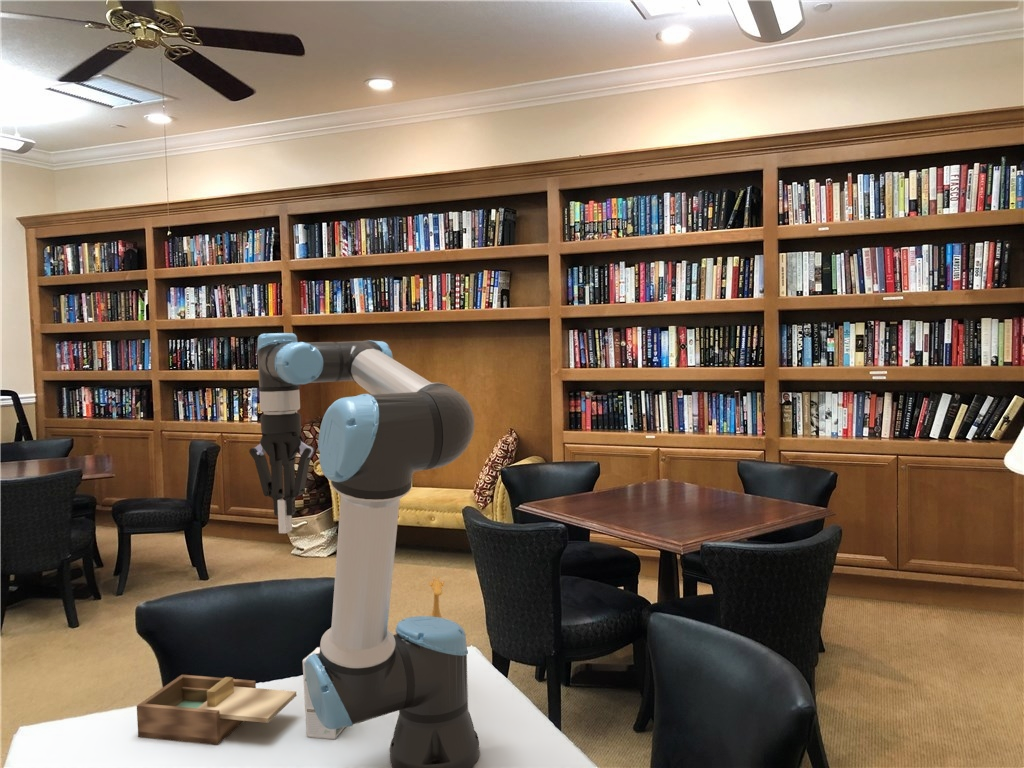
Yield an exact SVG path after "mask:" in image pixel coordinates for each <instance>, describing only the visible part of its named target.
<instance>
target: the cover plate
mask: <svg viewBox="0 0 1024 768" xmlns="http://www.w3.org/2000/svg"><path fill="white" fill-rule="evenodd" d="M223 678H224V679H222V680H221V681H220V682H218V683H217V684H216V685H214V686H213V687H212V688H210V689H209V690H208V691H207V701H206V702H205V703H203V704H202V705H201V706H199V707H198V709H209V710H219V711H220V718H222V719H232V720H243V721H244V722H257V723H266V724H269V723H270V722H271V721H272V719H274V718H275V717H276V716H277V715H278V714H279V713H280V712H282V710H283V709H284V708H285V707H286V706H287V705H288V704H290V702H292V701H293V700H294V699H295V698H296V697H297V691H294V690H284V689H283V690H282V689H268V688H257V687H256V688H248V687H237V686H234V685H233V679H234V677H231V676H225V677H223Z"/></svg>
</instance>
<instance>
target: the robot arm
mask: <svg viewBox="0 0 1024 768" xmlns="http://www.w3.org/2000/svg"><path fill="white" fill-rule="evenodd" d="M256 348H257V349H256V355H257V367H258V385H259V388H258V389H259V411H260V412H263V413H262V414H261V415H260V431H261V438H260V439H259V444H257V445H256V446H255V447H251V448H250V449H249V455H251V458H253V460H254V464H255V466H256V471H257V475H258V479H259V481H260V483H259V484H260V485H261V489H262V493H263V495H264V497H270V498H271V499H272V500H273V514H274V516H277V519H278V520H277V522H278V524H277V525H278V534H287V533H290V532H292V531H293V516H294V515H295V514H296V498H297V497H299V496H301V495H303V494H305V489H306V484H307V480H308V474H309V469H310V464H311V459H312V457H313V455H314V454H315V451H316V449H315V447H314V446H309V445H308V444H306V443H304V438H303V436H302V433H301V431H302V421H301V419H302V418H301V416H302V415H301V414H300V412H298V411H299V410H300V409H301V399H300V398H301V397H300V396H301V395H300V385H308V384H312V383H315V384H317V383H329V382H330V383H332V382H333V383H334V382H335V383H336V382H350V381H351V382H354V383H356V384H357V385H359V386H360V387H361V388H363V389H364V390H365V391H366V392H368V393H362V394H358V395H356V396H355V395H354V396H346V397H340V398H339V399H337V400H335V401H334V402H332V403H331V405H330V406H329V407H328V408H327V409H326V411H325V413H324V415H323V418H322V421H321V423H320V428H319V432H318V443H317V449H318V452H319V456H318V460H319V466H320V468H321V471H322V474H323V475H324V476H325V478H327V480H329V481H331V483H330V485H331V487H332V489H334V491H335V492H336V493H337V494H338V495H339V496H340V505H339V517H338V531H337V532H338V533H337V545H336V556H335V558H336V560H335V561H336V562H335V570H334V571H335V573H334V587H333V590H334V591H333V600H332V602H333V603H332V616H331V627H330V628H329V629H327V630H326V631H325V632H324V633H323V634H322V636H321V639H320V643H319V647H320V653H317V654H316V653H313V654H312V655H310V656H308V655H307V656H308V658H307V659H306V661H305V676H306V682H307V687H308V691H309V695H310V699H311V702H312V705H313V708H314V710H315V713H316V715H317V717H318V719H319V720H320V722H321V723H322V725H323V726H325V727H326V728H328V729H338V728H342V727H345V728H346V727H353V726H354V725H357V724H360V723H363V722H366V721H370V720H372V719H376V718H379V717H381V716H386V715H388V714H392V713H394V712H398V717H397V720H396V724H395V727H394V732H393V736H392V738H391V741H390V745H389V763H390V765H391V767H392V768H472V767H473V766H475V764H476V763H477V762H478V760H479V758H480V739H479V736H478V733H477V732H476V730H475V726H474V722H473V719H472V717H471V714H470V711H469V710H470V709H469V701H468V698H469V695H468V694H469V693H468V692H469V691H468V689H469V687H468V654H469V653H468V652H469V650H468V645H467V636H466V632H465V630H464V628H463V626H461V625H460V624H459V623H458V622H455V621H454V620H451V619H448V618H445V617H442V618H440V617H432V616H430V615H418V616H410V617H405V618H403V619H401V620H400V621H398V622H397V624H396V628H395V630H394V631H395V634H393V633H392V632H391V631H390V630H389V629H388V626H389V617H390V615H389V614H390V606H391V605H390V604H391V595H392V594H391V593H392V586H393V584H392V583H393V576H394V575H393V574H394V566H395V565H394V563H395V554H396V553H395V552H396V542H397V535H398V534H397V532H398V522H399V521H398V520H399V514H400V513H399V510H400V502H401V500H400V499H402V498H403V497H405V496H406V495H407V494H409V493H410V491H411V489H412V487H413V486H412V484H413V475H414V473H415V472H421V471H428V470H432V469H433V470H434V469H438V468H439V469H440V468H443V467H445V466H447V465H449V464H451V463H453V462H454V461H456V460H458V459H459V458H460V457H461V456H462V454H463V453H464V452H466V450H467V448H468V446H469V445H470V444H471V441H472V438H473V437H474V436H473V435H474V432H475V415H474V412H473V409H472V407H471V405H470V403H469V402H468V400H467V398H465V397H464V395H463V394H461V392H459V391H457V390H456V389H454V388H453V387H451V386H450V385H449V384H446V383H443V382H442V383H441V382H431V381H430V380H428V379H426V378H425V377H424V376H421V375H420V374H418V373H417V372H415V371H413V370H411V369H410V368H408V367H407V366H405V365H404V364H403V363H400V362H399V361H397V360H395V359H394V357H393V356H394V355H393V352H392V350H391V349H390V345H389V344H388V343H387V342H385V341H382V340H381V341H378V340H370V339H366V340H363V341H362V340H359V341H358V340H357V341H354V340H353V341H321V342H319V341H315V342H305V341H298V336H297V335H296V333H293V332H290V333H289V332H277V333H276V332H275V333H274V332H273V333H260V335H258V337H257V347H256ZM298 453H299V455H300V457H299V459H298V464H297V471H296V470H295V469H296V467H295V466H296V465H295V463H296V456H297V454H298ZM266 455H267V456H268V458H269V459H268V460H267V456H266ZM268 461H269V464H268ZM269 465H270V468H269Z"/></svg>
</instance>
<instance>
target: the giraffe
mask: <svg viewBox="0 0 1024 768" xmlns="http://www.w3.org/2000/svg"><path fill="white" fill-rule="evenodd" d="M439 578H440V577H439V576H437V579H436V578H435V576H433V579H432V580H433V581H432V582H428V585H429V586H430V587H431V589H432V591H433V607H432V608H433V609H432V612H431V614H430V615H429V616H432V617H440V618H443V617H442V614H441V609H440V601H439V599H440V597H439V596H441V595H442V594H443V592H442V591H443V589H442V588H443V586H444V585H445V581H441V582H440V579H439Z"/></svg>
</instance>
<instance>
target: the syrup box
mask: <svg viewBox="0 0 1024 768" xmlns="http://www.w3.org/2000/svg"><path fill="white" fill-rule="evenodd" d="M313 653H316V654H317V653H320V646H317V647H316V648H315V649H314V650H313V651H312V652H310V653H309V654H308V655H307V656H305V657H304V658H303V659H302V673H303V674H302V679H303V692H304V693H303V695H304V698H303V699H304V712H305V715H304V716H305V728H306V729H305V732H306V737H309V738H315V739H326V740H336V739H337V737H338V736H339V735H340V734H341V732H342V731H344V729H345V728H346V727H342V728H338V729H328V728H326V727H325V726H323V725H322V723H321V722H320V720H319V719H318V717H317V715H316V713H315V710H314V708H313V705H312V702H311V699H310V695H309V691H308V687H307V682H306V676H305V661H306V659H307V658H308V656H310V655H312V654H313Z"/></svg>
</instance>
